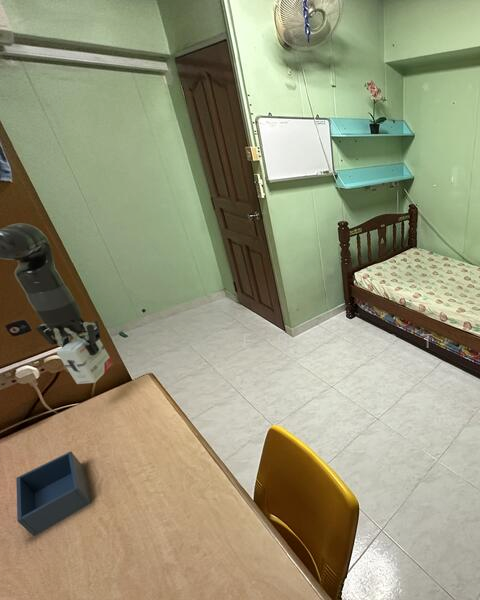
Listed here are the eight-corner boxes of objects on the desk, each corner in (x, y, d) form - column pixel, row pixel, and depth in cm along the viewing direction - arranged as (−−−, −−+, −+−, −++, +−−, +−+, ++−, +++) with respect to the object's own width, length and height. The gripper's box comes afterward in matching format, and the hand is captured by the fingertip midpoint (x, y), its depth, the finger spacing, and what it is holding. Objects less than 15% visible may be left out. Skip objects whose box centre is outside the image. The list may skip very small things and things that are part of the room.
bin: (34, 537, 66) (17, 521, 63) (32, 493, 74) (16, 477, 71) (91, 503, 72) (78, 487, 69) (83, 467, 80) (71, 450, 77)
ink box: (96, 365, 96) (78, 333, 90) (114, 363, 97) (97, 332, 91) (75, 384, 88) (54, 351, 83) (95, 383, 89) (75, 350, 84)
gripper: (94, 295, 85) (120, 345, 93) (36, 296, 83) (67, 347, 92) (72, 309, 78) (101, 361, 86) (8, 310, 77) (44, 364, 85)
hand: (84, 353), depth 89 cm, fingers closed on ink box, 5 cm apart
